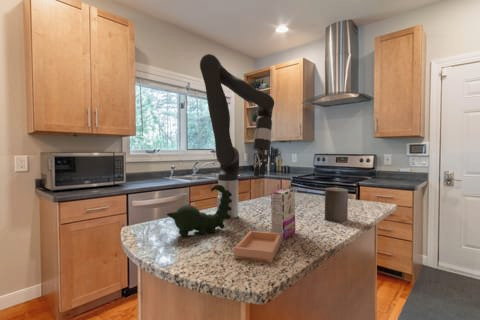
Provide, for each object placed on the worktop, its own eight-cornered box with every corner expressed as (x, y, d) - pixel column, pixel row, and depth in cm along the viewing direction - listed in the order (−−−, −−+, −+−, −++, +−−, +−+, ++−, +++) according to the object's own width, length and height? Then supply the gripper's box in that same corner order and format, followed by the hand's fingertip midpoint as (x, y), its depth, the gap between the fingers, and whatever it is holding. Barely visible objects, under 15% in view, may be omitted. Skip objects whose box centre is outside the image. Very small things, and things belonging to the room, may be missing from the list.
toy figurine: (222, 229, 109) (161, 234, 96) (225, 183, 109) (165, 182, 96) (233, 235, 101) (168, 241, 88) (237, 186, 101) (173, 185, 88)
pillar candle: (320, 220, 117) (321, 186, 116) (329, 215, 124) (329, 184, 124) (343, 224, 111) (344, 188, 110) (350, 219, 118) (351, 185, 117)
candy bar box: (283, 230, 102) (283, 188, 101) (295, 232, 99) (295, 189, 98) (270, 238, 92) (270, 192, 92) (284, 241, 89) (283, 193, 89)
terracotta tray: (233, 258, 75) (233, 247, 75) (250, 239, 92) (249, 230, 91) (272, 262, 72) (272, 252, 72) (281, 242, 88) (281, 233, 88)
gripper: (250, 142, 124) (246, 176, 121) (259, 134, 110) (255, 173, 108) (265, 144, 126) (262, 178, 123) (276, 137, 112) (272, 175, 109)
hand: (259, 175), depth 115 cm, fingers open, 8 cm apart
